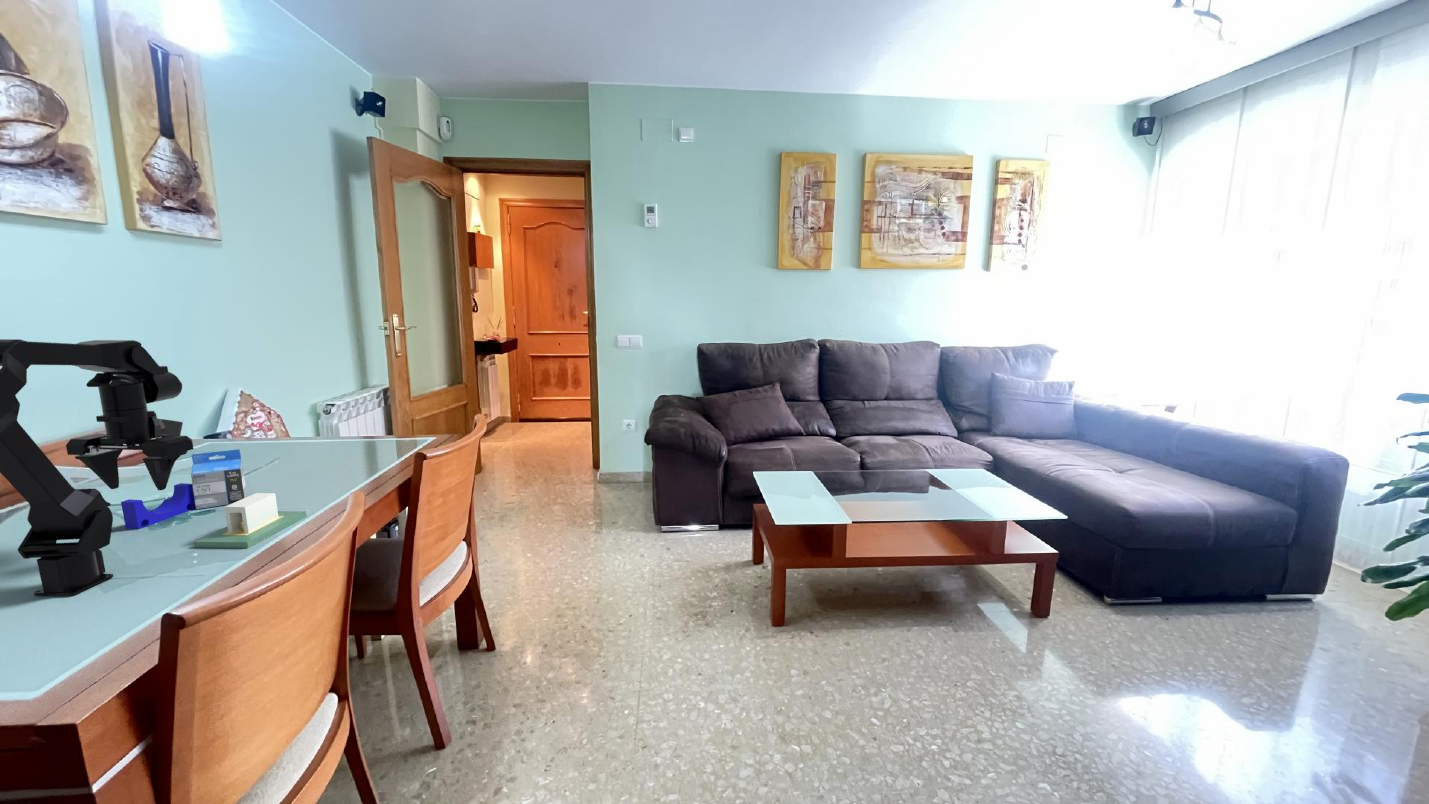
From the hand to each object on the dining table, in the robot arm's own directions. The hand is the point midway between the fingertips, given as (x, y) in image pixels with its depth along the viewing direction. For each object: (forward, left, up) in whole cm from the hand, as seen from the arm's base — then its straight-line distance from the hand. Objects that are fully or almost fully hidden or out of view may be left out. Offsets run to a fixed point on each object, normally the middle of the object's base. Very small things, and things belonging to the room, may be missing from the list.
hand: (138, 489), depth 106 cm
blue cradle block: (+15, +12, -12) cm, 22 cm away
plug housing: (+8, -14, -11) cm, 19 cm away
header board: (+8, -14, -12) cm, 20 cm away
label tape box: (+23, +6, -12) cm, 27 cm away
